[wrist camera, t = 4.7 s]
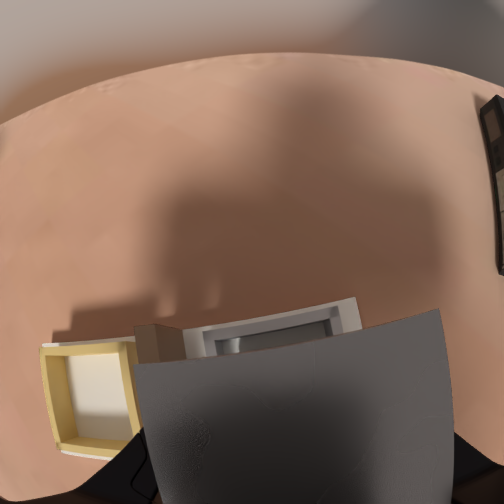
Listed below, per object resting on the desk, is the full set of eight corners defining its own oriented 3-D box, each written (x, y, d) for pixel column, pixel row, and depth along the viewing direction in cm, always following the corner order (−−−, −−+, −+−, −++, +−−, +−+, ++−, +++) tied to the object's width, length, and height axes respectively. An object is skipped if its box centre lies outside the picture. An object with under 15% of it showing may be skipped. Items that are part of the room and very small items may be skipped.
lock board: (69, 449, 14) (24, 465, 9) (51, 344, 17) (1, 338, 12) (373, 425, 14) (408, 451, 9) (350, 299, 16) (379, 280, 12)
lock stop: (249, 425, 13) (195, 586, 2) (237, 352, 15) (133, 364, 3) (326, 411, 13) (446, 535, 2) (314, 339, 15) (438, 308, 3)
